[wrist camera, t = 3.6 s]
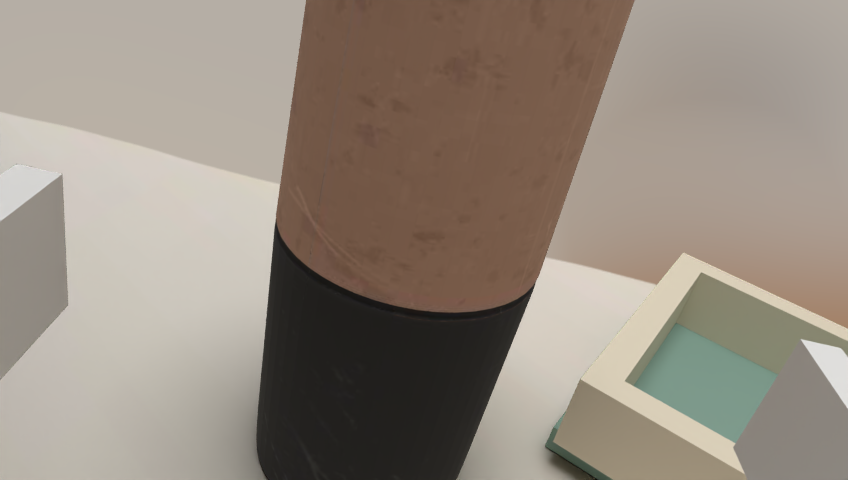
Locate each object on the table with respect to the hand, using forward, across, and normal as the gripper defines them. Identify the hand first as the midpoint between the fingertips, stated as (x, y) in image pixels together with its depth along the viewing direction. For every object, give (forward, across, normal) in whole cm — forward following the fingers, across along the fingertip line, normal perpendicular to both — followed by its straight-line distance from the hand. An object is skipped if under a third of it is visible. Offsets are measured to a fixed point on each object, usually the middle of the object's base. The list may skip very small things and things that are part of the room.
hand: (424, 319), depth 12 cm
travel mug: (+7, 0, -11) cm, 13 cm away
